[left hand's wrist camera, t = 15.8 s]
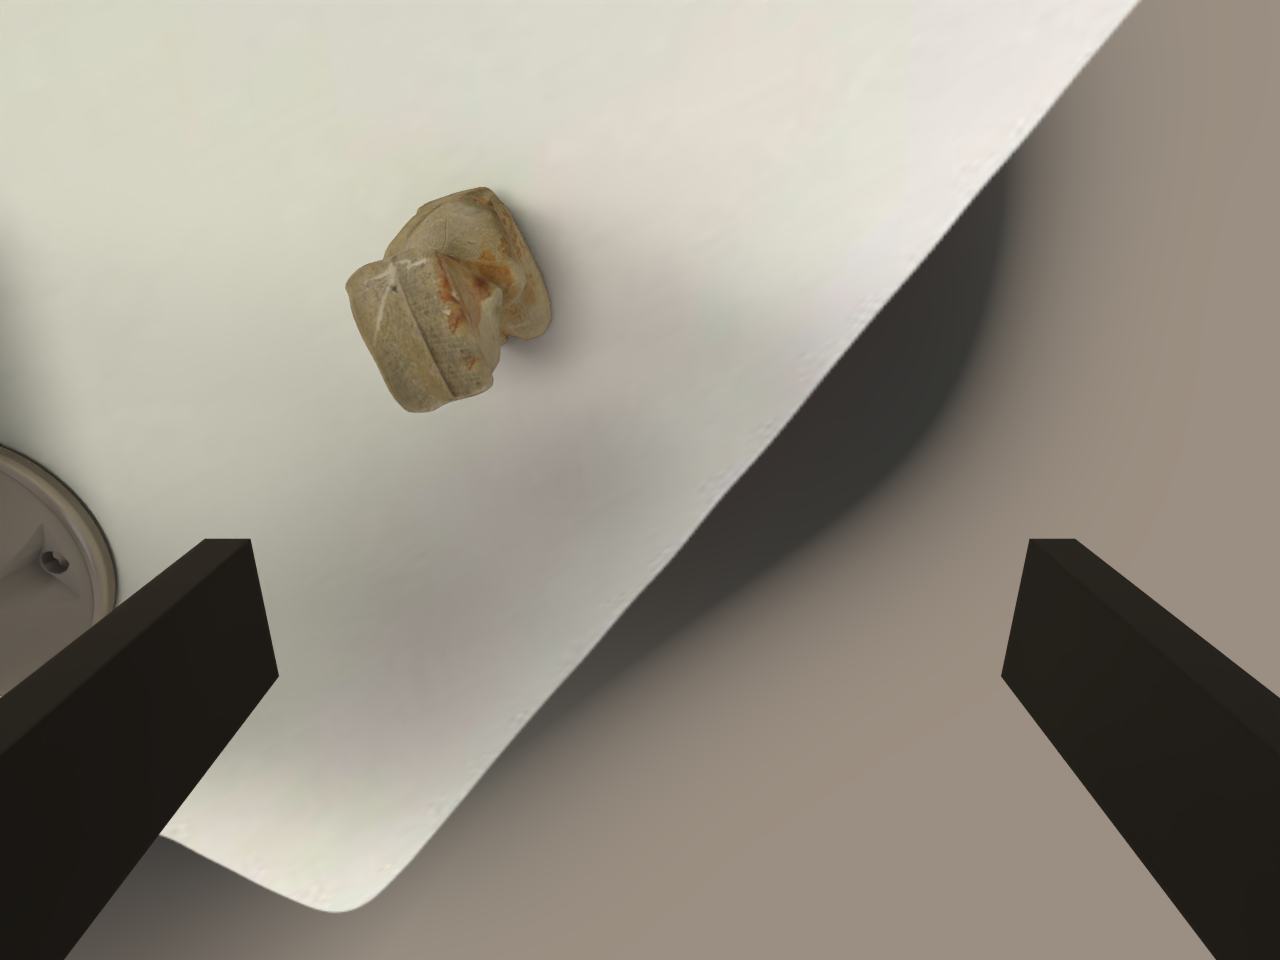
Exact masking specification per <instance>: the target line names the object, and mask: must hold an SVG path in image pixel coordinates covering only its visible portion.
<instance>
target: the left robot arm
mask: <svg viewBox="0 0 1280 960" xmlns="http://www.w3.org/2000/svg"><path fill="white" fill-rule="evenodd" d="M115 588H116V585H115V574H114V569H113V563H112V560H111V557H110V553H109V551H108V548H107V546H106V543H105V541H104V539H103V537H102V535H101V533H100V531H99V529H98V527H97V526H96V524H95V523H94V521H93V520H92V518H91V516H90V515H89V514H88V513H87V511H86V510H85V509H84V507H83V506H82V505H81V504H80V502H79V501H78V500H77V499H76V498H75V497H74V496H73V495H72V494H71V493H70V492H69V491H68V490H67V489H66V488H65V487H64V486H63V485H62V484H61V483H60V482H59V481H57V480H56V479H55V478H54V477H52V476H51V475H50V474H49V473H47V472H46V471H44V470H43V469H42V468H40V467H39V466H37V465H36V464H34V463H33V462H31V461H29V460H28V459H26V458H24V457H23V456H21V455H19V454H17V453H15V452H13V451H11V450H9V449H6V448H4V447H2V446H0V696H2V697H1V698H0V960H64V959H65V958H66V956H67V955H68V954H69V952H70V951H71V950H72V948H73V947H74V946H75V944H76V943H77V942H78V941H79V939H80V938H81V937H82V935H83V934H84V933H85V931H86V930H87V929H88V927H89V926H90V925H91V923H92V922H93V921H94V919H95V918H96V917H97V915H98V914H99V913H100V912H101V910H102V909H103V908H104V906H105V905H106V904H107V902H108V901H109V900H110V898H111V897H112V896H113V894H114V893H115V892H116V890H117V889H118V888H119V886H120V885H121V884H122V883H123V881H124V880H125V879H126V877H127V876H128V875H129V873H130V872H131V871H132V869H133V868H134V867H135V865H136V864H137V863H138V861H139V860H140V859H141V857H142V856H143V855H144V854H145V852H146V851H147V850H148V848H149V847H150V846H151V844H152V843H153V842H154V840H155V839H156V838H157V836H158V835H159V834H160V832H161V831H162V830H163V828H164V827H165V826H166V825H167V823H168V822H169V821H170V819H171V818H172V817H173V815H174V814H175V813H176V811H177V810H178V809H179V807H180V806H181V805H182V803H183V802H184V801H185V799H186V798H187V797H188V796H189V794H190V793H191V792H192V790H193V789H194V788H195V786H196V785H197V784H198V782H199V781H200V780H201V778H202V777H203V776H204V774H205V773H206V772H207V770H208V769H209V768H210V767H211V765H212V764H213V763H214V761H215V760H216V759H217V757H218V756H219V755H220V753H221V752H222V751H223V749H224V748H225V747H226V745H227V744H228V743H229V741H230V740H231V739H232V738H233V736H234V735H235V734H236V732H237V731H238V730H239V728H240V727H241V726H242V724H243V723H244V722H245V720H246V719H247V718H248V716H249V715H250V714H251V712H252V711H253V710H254V709H255V707H256V706H257V705H258V703H259V702H260V701H261V699H262V698H263V697H264V695H265V694H266V693H267V691H268V690H269V689H270V687H271V686H272V685H273V683H274V682H275V681H276V679H277V678H278V677H279V674H278V669H277V665H276V660H275V655H274V650H273V645H272V641H271V636H270V631H269V626H268V621H267V616H266V612H265V607H264V602H263V597H262V592H261V587H260V583H259V578H258V573H257V568H256V563H255V559H254V554H253V549H252V544H251V539H204V540H203V541H201V542H200V543H199V544H198V545H196V546H195V547H194V548H192V549H191V550H190V551H189V552H187V553H186V554H185V555H183V556H182V557H181V558H180V559H178V560H177V561H176V562H174V563H173V564H172V565H171V566H169V567H168V568H167V569H165V570H164V571H163V572H162V573H160V574H159V575H158V576H156V577H155V578H154V579H153V580H151V581H150V582H149V583H147V584H146V585H145V586H144V587H142V588H141V589H140V590H139V591H137V592H136V593H135V594H133V595H132V596H131V597H130V598H128V599H127V600H126V601H124V602H123V603H122V604H121V605H119V606H118V607H117V608H115V609H114V610H113V607H114V601H115ZM1001 677H1002V678H1003V680H1004V681H1005V682H1006V683H1007V685H1008V686H1009V687H1010V689H1011V690H1012V691H1013V693H1014V694H1015V695H1016V697H1017V698H1018V699H1019V701H1020V702H1021V703H1022V704H1023V706H1024V707H1025V708H1026V710H1027V711H1028V712H1029V714H1030V715H1031V716H1032V718H1033V719H1034V720H1035V722H1036V723H1037V724H1038V726H1039V727H1040V728H1041V730H1042V731H1043V732H1044V734H1045V735H1046V736H1047V737H1048V739H1049V740H1050V741H1051V743H1052V744H1053V745H1054V747H1055V748H1056V749H1057V751H1058V752H1059V753H1060V755H1061V756H1062V757H1063V759H1064V760H1065V761H1066V763H1067V764H1068V765H1069V766H1070V768H1071V769H1072V770H1073V772H1074V773H1075V774H1076V776H1077V777H1078V778H1079V780H1080V781H1081V782H1082V784H1083V785H1084V786H1085V787H1086V789H1087V790H1088V792H1089V793H1090V794H1091V795H1092V797H1093V798H1094V799H1095V801H1096V802H1097V803H1098V805H1099V806H1100V807H1101V809H1102V810H1103V811H1104V813H1105V814H1106V815H1107V817H1108V818H1109V819H1110V821H1111V822H1112V823H1113V825H1114V826H1115V827H1116V828H1117V830H1118V831H1119V832H1120V834H1121V835H1122V836H1123V838H1124V839H1125V840H1126V842H1127V843H1128V844H1129V846H1130V847H1131V848H1132V850H1133V851H1134V852H1135V854H1136V855H1137V856H1138V857H1139V859H1140V860H1141V861H1142V863H1143V864H1144V865H1145V867H1146V868H1147V869H1148V871H1149V872H1150V873H1151V875H1152V876H1153V877H1154V879H1155V880H1156V881H1157V883H1158V884H1159V885H1160V886H1161V888H1162V889H1163V890H1164V892H1165V893H1166V894H1167V896H1168V897H1169V898H1170V900H1171V901H1172V902H1173V904H1174V905H1175V906H1176V907H1177V909H1178V910H1179V912H1180V913H1181V914H1182V915H1183V917H1184V918H1185V919H1186V921H1187V922H1188V923H1189V925H1190V926H1191V927H1192V929H1193V930H1194V931H1195V933H1196V934H1197V935H1198V937H1199V938H1200V939H1201V941H1202V942H1203V943H1204V944H1205V946H1206V947H1207V948H1208V950H1209V951H1210V952H1211V954H1212V955H1213V956H1214V958H1215V959H1216V960H1280V698H1279V697H1278V696H1276V695H1275V694H1274V693H1272V692H1271V691H1270V690H1269V689H1267V688H1266V687H1265V686H1264V685H1262V684H1261V683H1260V682H1258V681H1257V680H1256V679H1255V678H1253V677H1252V676H1251V675H1249V674H1248V673H1247V672H1246V671H1244V670H1243V669H1242V668H1240V667H1239V666H1238V665H1237V664H1235V663H1234V662H1233V661H1231V660H1230V659H1229V658H1228V657H1226V656H1225V655H1224V654H1222V653H1221V652H1220V651H1219V650H1217V649H1216V648H1215V647H1213V646H1212V645H1211V644H1210V643H1208V642H1207V641H1206V640H1204V639H1203V638H1202V637H1201V636H1199V635H1198V634H1197V633H1195V632H1194V631H1193V630H1192V629H1190V628H1189V627H1188V626H1186V625H1185V624H1184V623H1183V622H1181V621H1180V620H1179V619H1177V618H1176V617H1175V616H1174V615H1172V614H1171V613H1170V612H1168V611H1167V610H1166V609H1165V608H1163V607H1162V606H1161V605H1159V604H1158V603H1157V602H1156V601H1154V600H1153V599H1152V598H1150V597H1149V596H1148V595H1147V594H1145V593H1144V592H1143V591H1141V590H1140V589H1139V588H1138V587H1136V586H1135V585H1134V584H1132V583H1131V582H1130V581H1129V580H1127V579H1126V578H1125V577H1124V576H1122V575H1121V574H1120V573H1118V572H1117V571H1116V570H1114V569H1113V568H1112V567H1111V566H1109V565H1108V564H1107V563H1105V562H1104V561H1103V560H1102V559H1100V558H1099V557H1098V556H1097V555H1095V554H1094V553H1093V552H1091V551H1090V550H1089V549H1088V548H1086V547H1085V546H1084V545H1082V544H1081V543H1080V542H1079V541H1077V540H1076V539H1029V544H1028V549H1027V554H1026V559H1025V563H1024V568H1023V573H1022V578H1021V583H1020V587H1019V592H1018V597H1017V602H1016V607H1015V612H1014V616H1013V621H1012V626H1011V631H1010V636H1009V641H1008V645H1007V650H1006V655H1005V660H1004V665H1003V669H1002V674H1001ZM3 695H4V696H3Z"/></svg>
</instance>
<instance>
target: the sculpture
mask: <svg viewBox="0 0 1280 960" xmlns="http://www.w3.org/2000/svg"><path fill="white" fill-rule="evenodd" d="M345 289H346V291H347V292H348V295H349V300H350V305H351V310H352V313H353V317H354V319H355V322H356V324H357V327H358V329H359V331H360V334H361V336H362V338H363V340H364V342H365V344H366V345H367V347H368V349H369V351H370V353H371V355H372V357H373V358H374V360H375V362H376V364H377V366H378V368H379V370H380V373H381V375H382V377H383V379H384V381H385V383H386V385H387V387H388V389H389V391H390V393H391V394H392V396H393V397H394V399H395V400H396V401H397V402H398V403H399V404H400V405H401V406H402V407H403V408H404V409H405V410H406V411H408V412H415V413H422V412H429V411H433V410H435V409H437V408H439V407H441V406H442V405H444V404H447V403H449V402H452V401H455V400H459V399H463V398H468V397H472V396H475V395H478V394H480V393H482V392H485V391H487V390H488V389H489V388H490V387H491V386H492V384H493V377H492V373H493V371H494V370H495V368H496V366H497V364H498V362H499V359H500V346H502V345H503V344H504V343H505V342H506V341H507V339H508V335H512V336H516V337H518V338H520V339H522V340H529V339H532V338H535V337H538V336H540V335H542V334H543V333H544V332H545V330H546V329H547V328H548V326H549V324H550V320H551V307H550V302H549V297H548V294H547V291H546V288H545V285H544V282H543V279H542V277H541V274H540V272H539V270H538V268H537V265H536V263H535V261H534V259H533V257H532V255H531V253H530V251H529V249H528V247H527V245H526V243H525V241H524V239H523V237H522V235H521V233H520V231H519V229H518V227H517V226H516V224H515V222H514V220H513V218H512V216H511V214H510V212H509V210H508V209H507V207H506V206H505V204H504V203H502V202H501V201H500V200H499V198H498V197H497V196H496V195H495V194H494V193H493V192H492V191H491V190H490V189H489V188H486V187H479V188H474V189H470V190H465V191H461V192H457V193H454V194H451V195H448V196H445V197H442V198H439V199H436V200H433V201H430V202H428V203H426V204H424V205H423V206H421V207H420V208H419V209H418V211H417V214H416V215H415V216H414V217H412V218H411V219H410V220H409V221H408V223H407V224H406V225H405V226H404V227H403V228H402V230H401V231H400V232H399V233H398V234H397V236H396V237H395V238H394V239H393V241H392V242H391V243H390V244H389V246H388V248H387V249H386V251H385V254H384V258H383V260H380V261H376V262H373V263H369V264H367V265H364V266H363V267H361V268H359V269H358V270H357V271H356V272H355V273H354V274H353V275H352V276H351V277H350V278H349V279H348V281H347V283H346V287H345Z"/></svg>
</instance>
